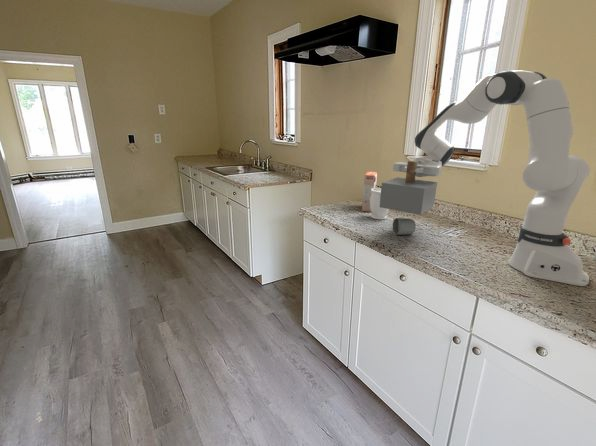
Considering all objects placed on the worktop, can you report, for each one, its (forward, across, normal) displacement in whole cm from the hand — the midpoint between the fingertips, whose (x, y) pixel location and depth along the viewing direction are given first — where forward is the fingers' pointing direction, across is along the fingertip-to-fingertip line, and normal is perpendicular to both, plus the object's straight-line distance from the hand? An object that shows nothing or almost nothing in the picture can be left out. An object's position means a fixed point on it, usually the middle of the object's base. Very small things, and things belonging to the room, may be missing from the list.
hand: (410, 170), depth 135 cm
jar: (-19, -20, +29) cm, 40 cm away
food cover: (-1, 0, +16) cm, 16 cm away
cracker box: (-31, -32, +30) cm, 53 cm away
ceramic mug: (-2, -2, +30) cm, 30 cm away
